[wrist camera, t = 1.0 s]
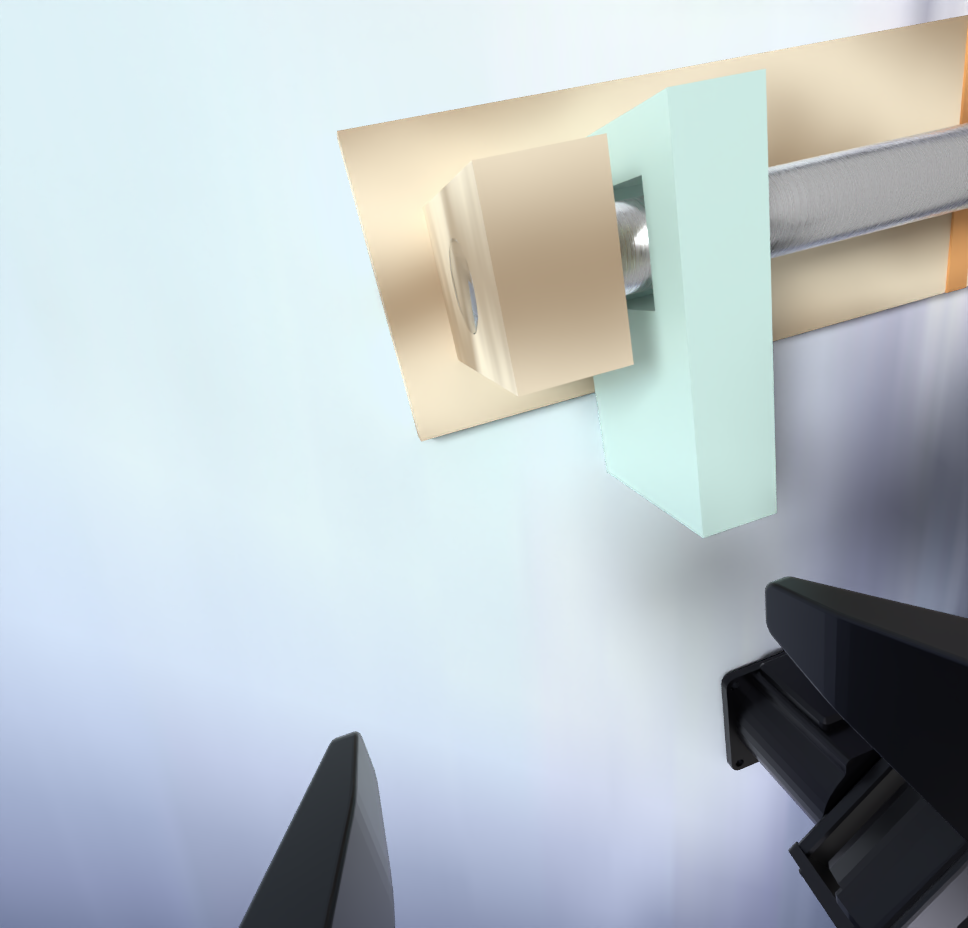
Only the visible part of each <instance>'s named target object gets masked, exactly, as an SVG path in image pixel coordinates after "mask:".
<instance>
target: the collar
mask: <svg viewBox="0 0 968 928" xmlns="http://www.w3.org/2000/svg"><path fill="white" fill-rule="evenodd" d="M605 133H607V140H608V149H609V157H610V166H611V174H612V183H613V191H614V200H615V201H619V200H624V199H628V198H633V197H637V196H642V195H644V203H645V213H646V223H647V233H648V243H649V253H650V264H651V274H652V284H653V289H650V290H646V291H642V292H638V293H634V294H630V295H626V302H627V311H628V320H629V328H630V337H631V345H632V354H633V362H634V365H631V366H627V367H623V368H620V369H616V370H613V371H609V372H605V373H602V374H598V375H595V376H593V379H594V386H595V393H596V400H597V407H598V414H599V421H600V428H601V435H602V442H603V448H604V455H605V462H606V469H607V473H609V474H610V475H612V476H613V477H615V478H616V479H618V480H619V481H621V482H622V483H623V484H625V485H626V486H628V487H629V488H631V489H632V490H634V491H635V492H637V493H638V494H639V495H641V496H642V497H644V498H645V499H647V500H648V501H650V502H651V503H653V504H654V505H655V506H657V507H658V508H660V509H661V510H663V511H664V512H666V513H667V514H669V515H670V516H671V517H673V518H674V519H676V520H677V521H679V522H680V523H682V524H683V525H685V526H686V527H687V528H689V529H690V530H692V531H693V532H695V533H696V534H698V535H699V536H701V537H702V538H706V537H709V536H712V535H715V534H717V533H720V532H723V531H726V530H729V529H732V528H735V527H738V526H741V525H744V524H747V523H750V522H752V521H755V520H758V519H761V518H764V517H767V516H770V515H773V514H776V513H777V498H776V458H775V418H774V378H773V337H772V297H771V257H770V216H769V176H768V136H767V96H766V69H761V70H756V71H751V72H745V73H740V74H735V75H730V76H724V77H719V78H714V79H708V80H703V81H698V82H693V83H687V84H682V85H677V86H672V87H667V88H665V89H664V90H662V91H660V92H659V93H657V94H655V95H654V96H652V97H650V98H649V99H647V100H646V101H644V102H642V103H641V104H639V105H637V106H636V107H634V108H633V109H631V110H629V111H628V112H626V113H624V114H623V115H621V116H619V117H618V118H616V119H615V120H613V121H611V122H610V123H608V124H606V125H605V126H603V127H601V128H600V129H598V130H597V131H595V132H593V133H592V134H590V135H588V136H587V137H591V136H595V135H600V134H605ZM585 138H586V137H585Z"/></svg>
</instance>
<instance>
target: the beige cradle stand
mask: <svg viewBox="0 0 968 928" xmlns="http://www.w3.org/2000/svg"><path fill="white" fill-rule="evenodd" d="M761 69H766V96H767V136H768V167H772V166H776V165H780V164H785V163H789V162H794V161H798V160H803V159H807V158H812V157H816V156H821V155H825V154H830V153H834V152H839V151H843V150H848V149H852V148H856V147H861V146H865V145H870V144H874V143H879V142H883V141H888V140H892V139H897V138H901V137H906V136H910V135H915V134H919V133H924V132H928V131H933V130H937V129H941V128H946V127H950V126H955V125H959V124H964V123H968V15H965V16H960V17H955V18H949V19H944V20H938V21H933V22H927V23H922V24H916V25H911V26H906V27H900V28H895V29H889V30H884V31H878V32H873V33H868V34H862V35H857V36H851V37H846V38H840V39H835V40H830V41H824V42H819V43H813V44H808V45H802V46H797V47H791V48H786V49H781V50H775V51H770V52H764V53H759V54H753V55H748V56H743V57H737V58H732V59H726V60H721V61H715V62H710V63H705V64H699V65H694V66H688V67H683V68H677V69H672V70H666V71H661V72H656V73H650V74H645V75H639V76H634V77H628V78H623V79H618V80H612V81H607V82H601V83H596V84H590V85H585V86H579V87H574V88H569V89H563V90H558V91H552V92H547V93H541V94H536V95H531V96H525V97H520V98H514V99H509V100H503V101H498V102H493V103H487V104H482V105H476V106H471V107H465V108H460V109H454V110H449V111H444V112H438V113H433V114H427V115H422V116H416V117H411V118H406V119H400V120H395V121H389V122H384V123H378V124H373V125H368V126H362V127H357V128H351V129H346V130H340V131H337V139H338V142H339V146H340V150H341V153H342V157H343V161H344V164H345V168H346V172H347V175H348V179H349V183H350V187H351V190H352V194H353V198H354V201H355V205H356V209H357V212H358V216H359V220H360V223H361V227H362V231H363V234H364V238H365V242H366V245H367V249H368V253H369V256H370V260H371V264H372V267H373V271H374V275H375V278H376V282H377V286H378V289H379V293H380V297H381V300H382V304H383V308H384V312H385V315H386V319H387V323H388V326H389V330H390V334H391V337H392V341H393V345H394V348H395V352H396V356H397V359H398V363H399V367H400V370H401V374H402V378H403V381H404V385H405V389H406V392H407V396H408V400H409V403H410V407H411V411H412V414H413V418H414V422H415V425H416V429H417V433H418V436H419V438H420V440H421V441H424V440H428V439H431V438H435V437H438V436H442V435H445V434H449V433H452V432H456V431H460V430H463V429H467V428H470V427H474V426H477V425H481V424H484V423H488V422H491V421H495V420H498V419H502V418H505V417H509V416H512V415H516V414H519V413H523V412H526V411H530V410H534V409H537V408H541V407H544V406H548V405H551V404H555V403H558V402H562V401H565V400H569V399H572V398H576V397H579V396H583V395H586V394H590V393H593V392H595V386H594V379H593V376H595V375H598V374H602V373H605V372H609V371H613V370H616V369H620V368H623V367H627V366H631V365H634V362H633V354H632V345H631V337H630V328H629V320H628V311H627V302H626V294H625V285H624V277H623V268H622V260H621V251H620V243H619V234H618V226H617V217H616V208H615V200H614V191H613V183H612V174H611V166H610V157H609V149H608V140H607V133H605V134H600V135H595V136H591V137H587V136H588V135H590V134H592V133H593V132H595V131H597V130H598V129H600V128H601V127H603V126H605V125H606V124H608V123H610V122H611V121H613V120H615V119H616V118H618V117H619V116H621V115H623V114H624V113H626V112H628V111H629V110H631V109H633V108H634V107H636V106H637V105H639V104H641V103H642V102H644V101H646V100H647V99H649V98H650V97H652V96H654V95H655V94H657V93H659V92H660V91H662V90H664V89H665V88H667V87H672V86H677V85H682V84H687V83H693V82H698V81H703V80H708V79H714V78H719V77H724V76H730V75H735V74H740V73H745V72H751V71H756V70H761ZM585 137H586V138H585ZM455 239H456V240H457V241H458V242H457V241H456V240H455ZM462 250H463V251H462ZM449 253H450V260H449ZM450 261H451V267H450ZM451 269H452V274H451ZM470 274H471V276H470ZM452 276H453V280H452ZM471 278H472V280H471ZM468 280H469V281H468ZM471 281H472V282H473V286H474V291H475V297H476V303H477V313H478V323H477V329H476V328H475V321H474V318H473V317H474V316H473V312H472V306H471V305H472V304H471V302H472V301H471V299H470V291H469V287H470V286H469V283H468V282H470V283H471V284H472V282H471ZM453 282H454V285H453ZM967 286H968V208H967V209H963V210H959V211H955V212H951V213H947V214H944V215H940V216H936V217H932V218H928V219H924V220H920V221H916V222H912V223H908V224H904V225H900V226H897V227H893V228H889V229H885V230H881V231H877V232H873V233H869V234H865V235H861V236H857V237H853V238H849V239H846V240H842V241H838V242H834V243H830V244H826V245H822V246H818V247H814V248H810V249H806V250H802V251H799V252H795V253H791V254H787V255H783V256H779V257H775V258H771V297H772V337H773V341H777V340H780V339H784V338H787V337H791V336H794V335H798V334H801V333H805V332H808V331H812V330H815V329H819V328H822V327H826V326H829V325H833V324H837V323H840V322H844V321H847V320H851V319H854V318H858V317H861V316H865V315H868V314H872V313H875V312H879V311H882V310H886V309H889V308H893V307H896V306H900V305H903V304H907V303H910V302H914V301H918V300H921V299H925V298H928V297H932V296H935V295H939V294H942V293H948V292H952V291H955V290H959V289H962V288H966V287H967ZM454 287H455V290H454ZM455 291H456V294H455ZM456 295H457V298H458V301H457V298H456ZM458 302H459V305H458ZM459 306H460V308H459ZM475 329H476V330H477V332H476V330H475ZM474 333H475V334H474Z"/></svg>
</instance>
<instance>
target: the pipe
mask: <svg viewBox="0 0 968 928" xmlns="http://www.w3.org/2000/svg"><path fill="white" fill-rule="evenodd" d="M768 176H769V216H770V257H771V258H775V257H779V256H783V255H787V254H791V253H795V252H799V251H802V250H806V249H810V248H814V247H818V246H822V245H826V244H830V243H834V242H838V241H842V240H846V239H849V238H853V237H857V236H861V235H865V234H869V233H873V232H877V231H881V230H885V229H889V228H893V227H897V226H900V225H904V224H908V223H912V222H916V221H920V220H924V219H928V218H932V217H936V216H940V215H944V214H947V213H951V212H955V211H959V210H963V209H967V208H968V123H964V124H959V125H955V126H950V127H946V128H941V129H937V130H933V131H928V132H924V133H919V134H915V135H910V136H906V137H901V138H897V139H892V140H888V141H883V142H879V143H874V144H870V145H865V146H861V147H856V148H852V149H848V150H843V151H839V152H834V153H830V154H825V155H821V156H816V157H812V158H807V159H803V160H798V161H794V162H789V163H785V164H780V165H776V166H772V167H768ZM615 208H616V217H617V226H618V234H619V243H620V251H621V260H622V268H623V277H624V285H625V294H626V295H630V294H634V293H638V292H642V291H646V290H650V289H653V284H652V274H651V264H650V253H649V243H648V233H647V223H646V213H645V203H644V195H642V196H637V197H633V198H628V199H624V200H619V201H615ZM455 240H456V239H455ZM456 241H457V240H456ZM457 242H458V241H457ZM462 251H463V250H462ZM449 260H450V253H449ZM450 267H451V261H450ZM451 274H452V269H451ZM470 276H471V274H470ZM452 280H453V276H452ZM471 280H472V278H471ZM468 281H469V280H468ZM471 282H472V281H471ZM468 283H469V286H470V287H469V291H470V299H471V301H472V302H471V304H472V305H471V306H472V312H473V316H474V317H473V318H474V321H475V328H476V329H477V323H478V313H477V303H476V297H475V291H474V286H473V282H472V284H471V283H470V282H468ZM453 285H454V282H453ZM454 290H455V287H454ZM455 294H456V291H455ZM456 298H457V295H456ZM457 301H458V298H457ZM458 305H459V302H458ZM459 308H460V306H459ZM476 329H475V330H476ZM476 332H477V330H476ZM474 334H475V333H474Z"/></svg>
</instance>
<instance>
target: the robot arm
mask: <svg viewBox="0 0 968 928" xmlns="http://www.w3.org/2000/svg"><path fill="white" fill-rule="evenodd" d="M765 607H766V624H767V627H768V629H769V632H770V633H771V635H772V636H773V638H774V639H775V640H776V641H777V642H778V643H779V645H780V646H781V647H782V648H783V649H784V651H785V652H783V653H780V654H778V655H775V656H773V657H770V658H767V659H765V660H762V661H760V662H757V663H755V664H752V665H750V666H747V667H744V668H742V669H739V670H737V671H734V672H732V673H729V674H727V675H726V676H725V677H724V678H723V680H722V683H721V686H722V700H723V713H724V726H725V740H726V753H727V762H728V764H729V765H730V766H731V767H732V769H734V770H740V769H743V768H745V767H747V766H750V765H752V764H754V763H757V762H760V763H761V764H762V765H763V766H764V768H765V769H766V770H767V771H768V772H769V773H770V774H771V775H772V777H773V778H774V779H775V780H776V781H777V782H778V783H779V784H780V786H781V787H782V788H783V789H784V790H785V791H786V792H787V793H788V795H789V796H790V797H791V798H792V799H793V800H794V801H795V802H796V804H797V805H798V806H799V807H800V808H801V809H802V810H803V811H804V813H805V814H806V815H807V816H808V817H809V818H810V819H811V821H812V822H813V823H814V824H815V826H814V827H813V828H812V829H811V830H810V831H809V833H808V834H807V835H806V836H805V837H804V838H803V839H802V840H801V841H800V842H799V843H798V842H795V843H794V845H793V846H792V847H791V848H790V849H789V850H788V851H789V853H790V854H791V856H792V857H793V859H794V860H795V862H796V863H797V864H798V866H799V867H800V869H799V872H800V874H801V875H802V877H803V878H804V879H805V881H806V882H807V884H808V885H809V887H810V888H811V890H812V891H813V893H814V894H815V896H816V897H817V899H818V900H819V902H820V903H821V905H822V906H823V908H824V909H825V911H826V912H827V914H828V915H829V917H830V918H831V920H832V921H833V923H834V924H835V926H836V927H837V928H968V618H964V617H959V616H955V615H951V614H947V613H942V612H938V611H934V610H930V609H926V608H921V607H917V606H913V605H909V604H904V603H900V602H896V601H892V600H888V599H883V598H879V597H875V596H871V595H866V594H862V593H858V592H854V591H850V590H845V589H841V588H837V587H833V586H828V585H824V584H820V583H816V582H812V581H807V580H803V579H799V578H795V577H784V578H781V579H778V580H776V581H773V582H770V583H769V584H767V586H766V588H765ZM239 928H395V913H394V897H393V886H392V878H391V870H390V863H389V856H388V850H387V843H386V836H385V829H384V823H383V816H382V809H381V803H380V796H379V789H378V783H377V778H376V774H375V770H374V767H373V765H372V762H371V759H370V757H369V754H368V752H367V749H366V746H365V744H364V741H363V738H362V736H361V734H360V733H359V732H356V731H355V732H352V733H349V734H346V735H343V736H340V737H338V738H335V739H334V740H332V742H331V743H330V744H329V746H328V748H327V750H326V752H325V754H324V756H323V758H322V761H321V763H320V765H319V767H318V769H317V771H316V773H315V775H314V777H313V779H312V781H311V783H310V785H309V787H308V789H307V791H306V793H305V795H304V797H303V799H302V801H301V803H300V805H299V807H298V809H297V811H296V813H295V815H294V817H293V819H292V821H291V823H290V825H289V827H288V829H287V831H286V833H285V835H284V837H283V839H282V841H281V843H280V845H279V847H278V849H277V851H276V853H275V855H274V857H273V859H272V861H271V863H270V865H269V867H268V869H267V871H266V873H265V875H264V878H263V880H262V882H261V884H260V886H259V888H258V890H257V892H256V894H255V896H254V898H253V900H252V902H251V904H250V906H249V908H248V910H247V912H246V914H245V916H244V918H243V920H242V922H241V924H240V926H239Z"/></svg>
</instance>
